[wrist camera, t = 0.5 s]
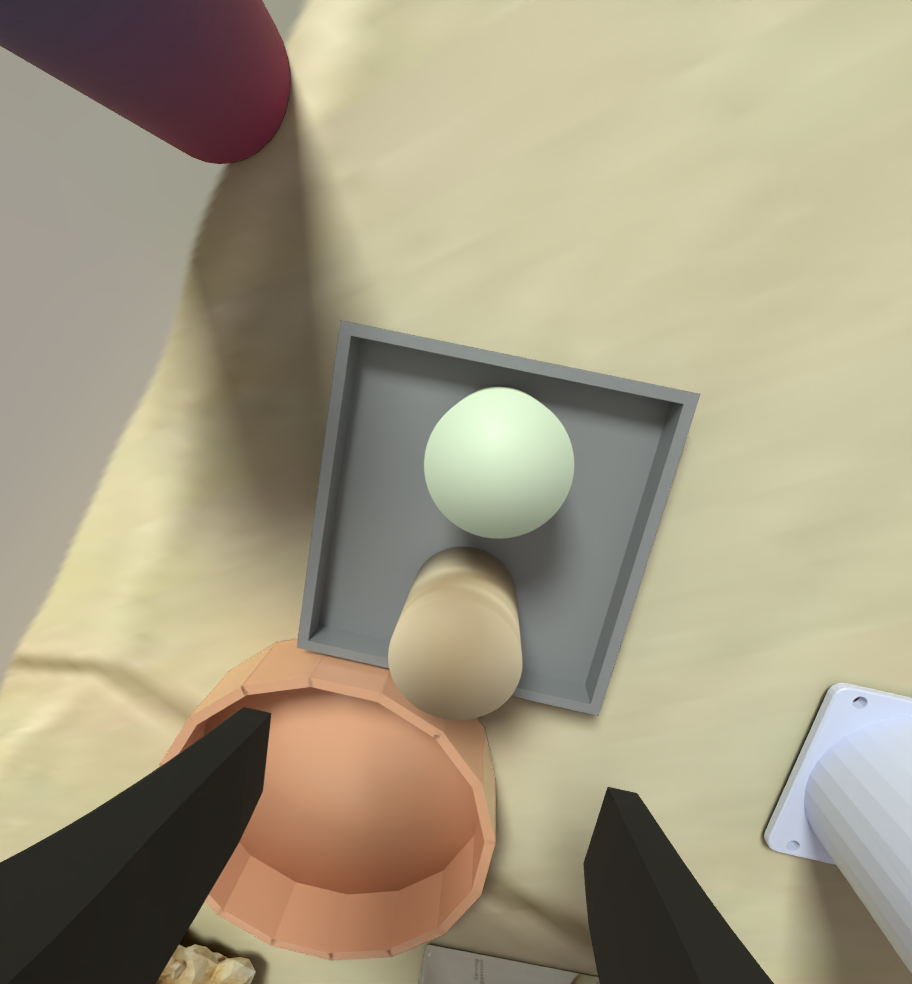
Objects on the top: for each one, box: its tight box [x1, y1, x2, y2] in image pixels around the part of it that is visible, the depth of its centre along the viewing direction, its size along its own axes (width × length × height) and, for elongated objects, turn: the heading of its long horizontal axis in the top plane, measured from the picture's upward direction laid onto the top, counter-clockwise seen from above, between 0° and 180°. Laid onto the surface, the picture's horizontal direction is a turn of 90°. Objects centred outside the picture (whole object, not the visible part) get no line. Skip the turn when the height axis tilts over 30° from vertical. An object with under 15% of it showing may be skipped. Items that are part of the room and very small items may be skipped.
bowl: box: [160, 639, 496, 960], centre depth 21 cm, size 13×13×3 cm
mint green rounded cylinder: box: [424, 386, 574, 539], centre depth 15 cm, size 4×4×4 cm
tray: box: [297, 320, 700, 716], centre depth 18 cm, size 12×12×2 cm
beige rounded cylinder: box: [388, 547, 522, 720], centre depth 17 cm, size 4×4×4 cm
